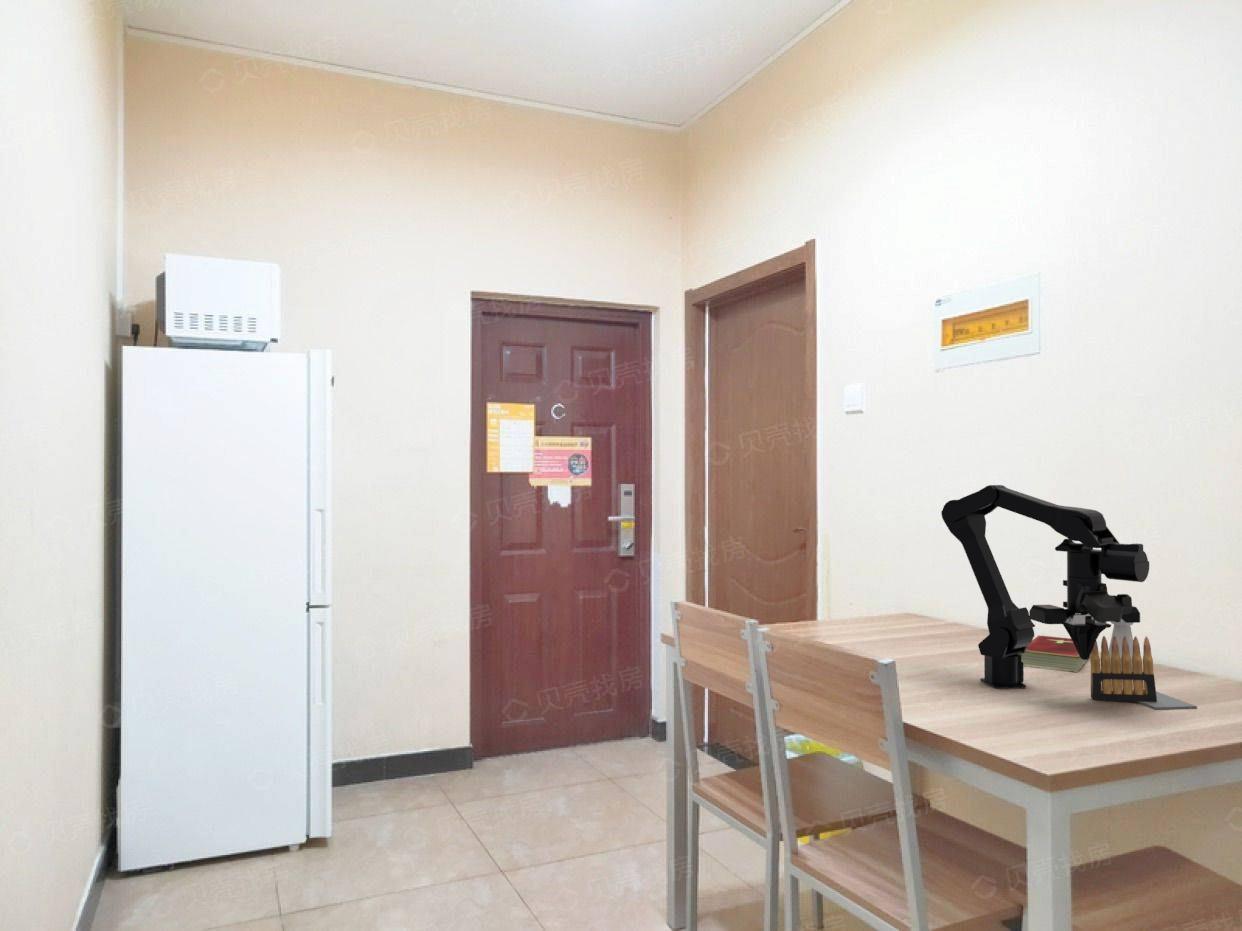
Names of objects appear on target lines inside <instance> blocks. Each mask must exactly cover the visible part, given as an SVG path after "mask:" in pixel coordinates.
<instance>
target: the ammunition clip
mask: <svg viewBox="0 0 1242 931" xmlns="http://www.w3.org/2000/svg"><path fill="white" fill-rule="evenodd" d="M1100 642H1101V643H1100V644H1101V646H1100V650H1101V651H1100V653H1099V647H1098V646H1099V645H1098V640H1096V642H1095V644H1094V647H1093V649H1092V652H1091V656H1090V657H1089V659H1090V660H1089V662H1090V698H1091V699H1092V700H1094V701H1113V702H1114V701H1117V702H1118V701H1120V702H1121V701H1123V702H1135V701H1145V702H1157V696H1156V692H1157V690H1156V680H1155V672H1154V659H1153V656H1152V648H1151V642H1150V639H1149V637H1148V636H1145V637H1144V640H1143V646H1142V647H1143V653H1142V654H1143V655H1142V656H1141V649H1140V648H1141V647H1140V643H1139V639H1138V637H1137V636H1134V637H1133V656H1132V666H1131V658H1130V652H1129V645H1128V641H1127V638H1126V637H1125V636H1124V638H1123V641H1122V657H1121V659H1120V656H1119V647H1118V642H1117V639H1116V637H1115V636H1114V637H1113V639H1112V646H1111V648H1112V651H1111V665H1110V657H1109V645H1108V640H1107V638H1106V636H1105V635H1103V636H1102V639H1101V641H1100ZM1099 654H1100V655H1099ZM1121 665H1122V671H1121ZM1132 670H1133V672H1132ZM1133 690H1134V692H1133Z"/></svg>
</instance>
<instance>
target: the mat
mask: <svg viewBox="0 0 1242 931" xmlns="http://www.w3.org/2000/svg"><path fill="white" fill-rule="evenodd" d="M1133 692H1134V690H1133ZM1156 696H1157V702H1145V701H1134V703H1138V704H1140V705H1143V706H1146V707H1148V708H1150V709H1152V710H1153V709H1154V710H1156V711H1157V710H1179V709H1180V710H1186V709H1187V710H1189V709H1192V710H1194V709H1198V706H1197V705H1195V704H1192V703H1189V702H1186V701H1183V700H1181V699H1179V698H1176V697H1173V696H1170V695H1167V694H1165V693H1161V692H1159V691H1156Z"/></svg>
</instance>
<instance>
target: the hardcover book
mask: <svg viewBox="0 0 1242 931" xmlns="http://www.w3.org/2000/svg"><path fill="white" fill-rule="evenodd" d="M1019 655H1021V662H1023V663H1024V665H1025V666H1024V667H1029V666H1032V667H1031V668H1037V667H1040V668H1039V669H1046V668H1048V669H1047V670H1054V669H1057V670H1056V671H1062V670H1065V671H1064V672H1070V671H1074V672H1073V673H1078V672H1079V671H1080V670H1079V669H1081V668H1082V667H1083V666H1084V665H1083V664H1085V663H1086V662H1087V661H1086V660H1082V659H1081V658H1080V656H1079V654H1078V652H1077V650H1076V647H1075V645H1074V643H1073V641H1072V639H1071V637H1070V638H1067V637H1060V636H1059V637H1058V636H1049V635H1037V636H1036V637H1035V638H1033V640H1032V642H1031V643H1030V644H1029V645H1027V648H1026V651H1025V653H1023V654H1022V653H1021V654H1019ZM1090 657H1091V654H1090ZM1085 661H1086V662H1085ZM1082 665H1083V666H1082ZM1078 670H1079V671H1078Z"/></svg>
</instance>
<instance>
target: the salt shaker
mask: <svg viewBox="0 0 1242 931" xmlns="http://www.w3.org/2000/svg"><path fill="white" fill-rule="evenodd" d="M1110 624H1111V625H1113V629H1112V633H1111V636H1110V637H1111V638H1110V642H1109V645H1108V651H1109V657H1110V665H1111V651H1112V648H1111V646H1112V639H1113V637H1114V636H1115V637H1116V639H1117V642H1118V647H1119V656H1120V659H1121V657H1122V641H1123V638H1124V636H1125V637H1126V638H1127V641H1128V645H1129V652H1130V658H1131V666H1132V656H1133V640H1134V637H1133V633H1132V632H1133V631H1132V627H1131V626H1132V625H1134V623H1126V622H1124V621H1123V620H1122V619H1121V622H1110ZM1121 671H1122V665H1121ZM1132 672H1133V670H1132Z"/></svg>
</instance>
